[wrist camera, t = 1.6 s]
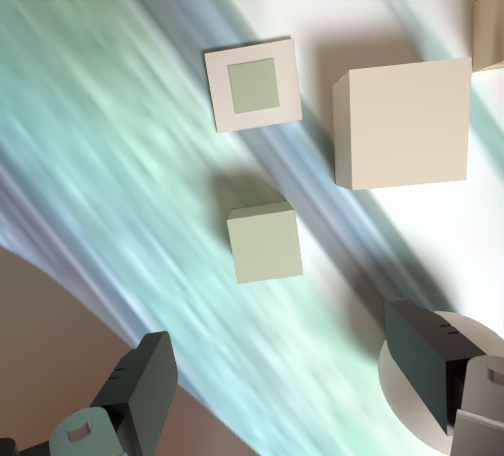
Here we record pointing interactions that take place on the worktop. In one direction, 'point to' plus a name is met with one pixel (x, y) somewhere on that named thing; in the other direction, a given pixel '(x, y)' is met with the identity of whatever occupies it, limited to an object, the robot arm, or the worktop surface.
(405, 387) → the ornament
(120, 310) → the worktop surface
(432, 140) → the base block
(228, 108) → the card
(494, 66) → the birch cube
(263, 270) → the sage cube
